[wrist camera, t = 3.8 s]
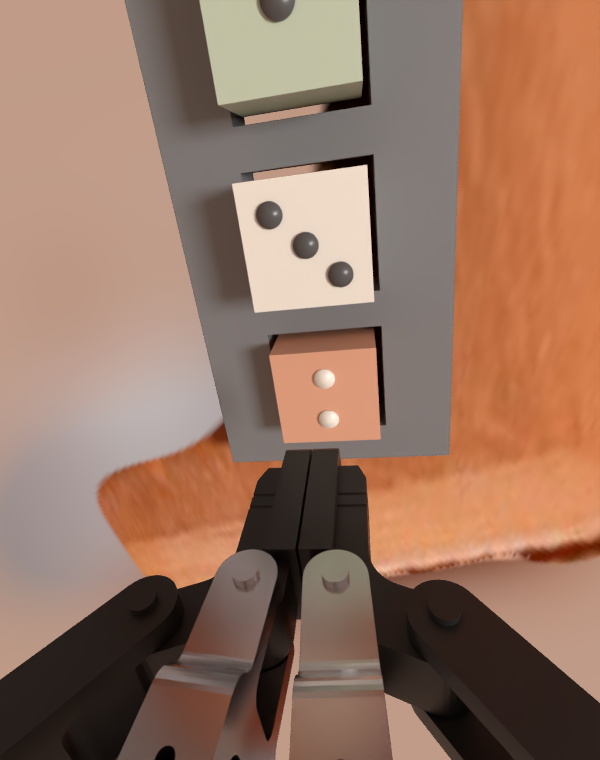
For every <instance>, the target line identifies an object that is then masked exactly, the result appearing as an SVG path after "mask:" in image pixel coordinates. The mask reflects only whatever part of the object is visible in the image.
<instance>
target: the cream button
mask: <svg viewBox="0 0 600 760" xmlns="http://www.w3.org/2000/svg"><path fill="white" fill-rule="evenodd" d="M232 187H233V193H234V199H235V204H236V210H237V215H238V221H239V227H240V232H241V238H242V244H243V249H244V255H245V261H246V266H247V272H248V278H249V283H250V289H251V295H252V300H253V306H254V311H255V313H257V312H268V311H279V310H291V309H302V308H313V307H324V306H335V305H346V304H357V303H368V302H374V286H373V267H372V248H371V229H370V209H369V190H368V171H367V165H362V166H355V167H348V168H341V169H334V170H326V171H319V172H312V173H305V174H298V175H292V176H284V177H277V178H270V179H262V180H255V181H248V182H241V183H234V184H232Z"/></svg>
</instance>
